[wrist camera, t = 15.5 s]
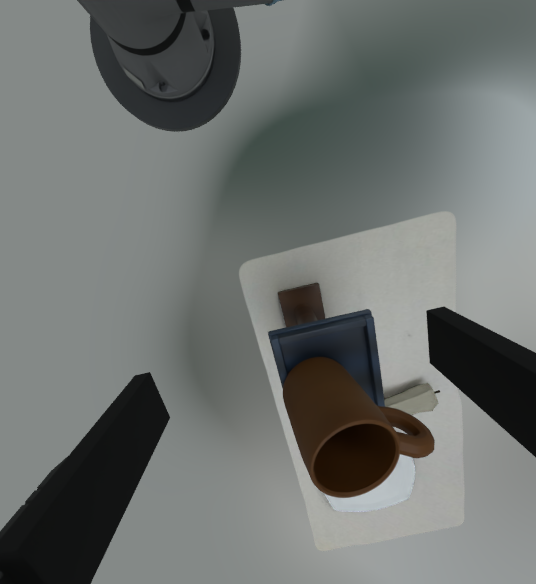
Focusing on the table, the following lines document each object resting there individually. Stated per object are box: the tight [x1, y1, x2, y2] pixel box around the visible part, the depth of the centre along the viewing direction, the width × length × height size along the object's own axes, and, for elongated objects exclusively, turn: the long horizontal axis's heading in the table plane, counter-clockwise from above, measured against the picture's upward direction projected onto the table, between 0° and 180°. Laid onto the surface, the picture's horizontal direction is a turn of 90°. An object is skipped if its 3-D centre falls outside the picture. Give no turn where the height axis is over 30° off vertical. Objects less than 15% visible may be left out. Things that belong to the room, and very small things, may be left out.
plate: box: [324, 454, 416, 512], centre depth 61 cm, size 23×23×2 cm
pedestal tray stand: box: [268, 283, 385, 407], centre depth 39 cm, size 15×11×24 cm
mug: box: [283, 357, 434, 498], centre depth 23 cm, size 12×8×9 cm, turn 83°
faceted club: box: [384, 383, 440, 415], centre depth 53 cm, size 9×8×25 cm
